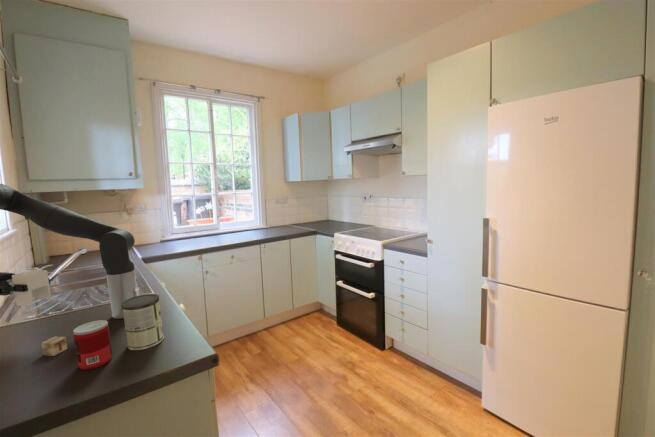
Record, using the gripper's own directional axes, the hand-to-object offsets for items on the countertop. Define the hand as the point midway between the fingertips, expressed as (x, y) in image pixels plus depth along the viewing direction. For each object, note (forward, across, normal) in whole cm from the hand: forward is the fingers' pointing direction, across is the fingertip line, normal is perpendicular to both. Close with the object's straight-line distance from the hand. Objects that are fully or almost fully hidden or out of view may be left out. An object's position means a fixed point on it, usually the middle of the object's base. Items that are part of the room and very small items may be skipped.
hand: (37, 284), depth 102 cm
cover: (-2, 0, +6) cm, 6 cm away
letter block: (+10, -6, +19) cm, 23 cm away
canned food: (+29, -9, +20) cm, 36 cm away
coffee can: (+35, +3, +19) cm, 40 cm away
